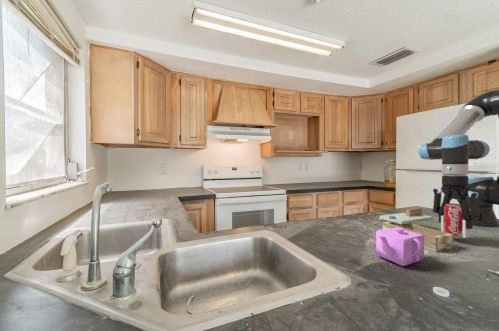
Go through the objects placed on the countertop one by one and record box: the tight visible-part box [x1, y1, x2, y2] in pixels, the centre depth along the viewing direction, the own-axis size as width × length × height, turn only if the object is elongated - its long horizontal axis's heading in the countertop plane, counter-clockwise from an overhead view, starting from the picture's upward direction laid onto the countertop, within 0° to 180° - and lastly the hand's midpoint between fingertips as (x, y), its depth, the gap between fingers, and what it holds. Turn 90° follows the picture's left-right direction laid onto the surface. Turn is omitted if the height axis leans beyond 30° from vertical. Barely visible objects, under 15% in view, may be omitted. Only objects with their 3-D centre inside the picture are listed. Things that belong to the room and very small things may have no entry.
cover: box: [379, 207, 434, 224], centre depth 98 cm, size 20×10×4 cm, turn 110°
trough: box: [381, 221, 455, 253], centre depth 86 cm, size 10×20×5 cm, turn 20°
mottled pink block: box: [375, 228, 425, 267], centre depth 70 cm, size 18×14×10 cm
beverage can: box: [444, 202, 465, 238], centre depth 85 cm, size 6×6×12 cm
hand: (454, 233), depth 85 cm, fingers closed on beverage can, 6 cm apart
